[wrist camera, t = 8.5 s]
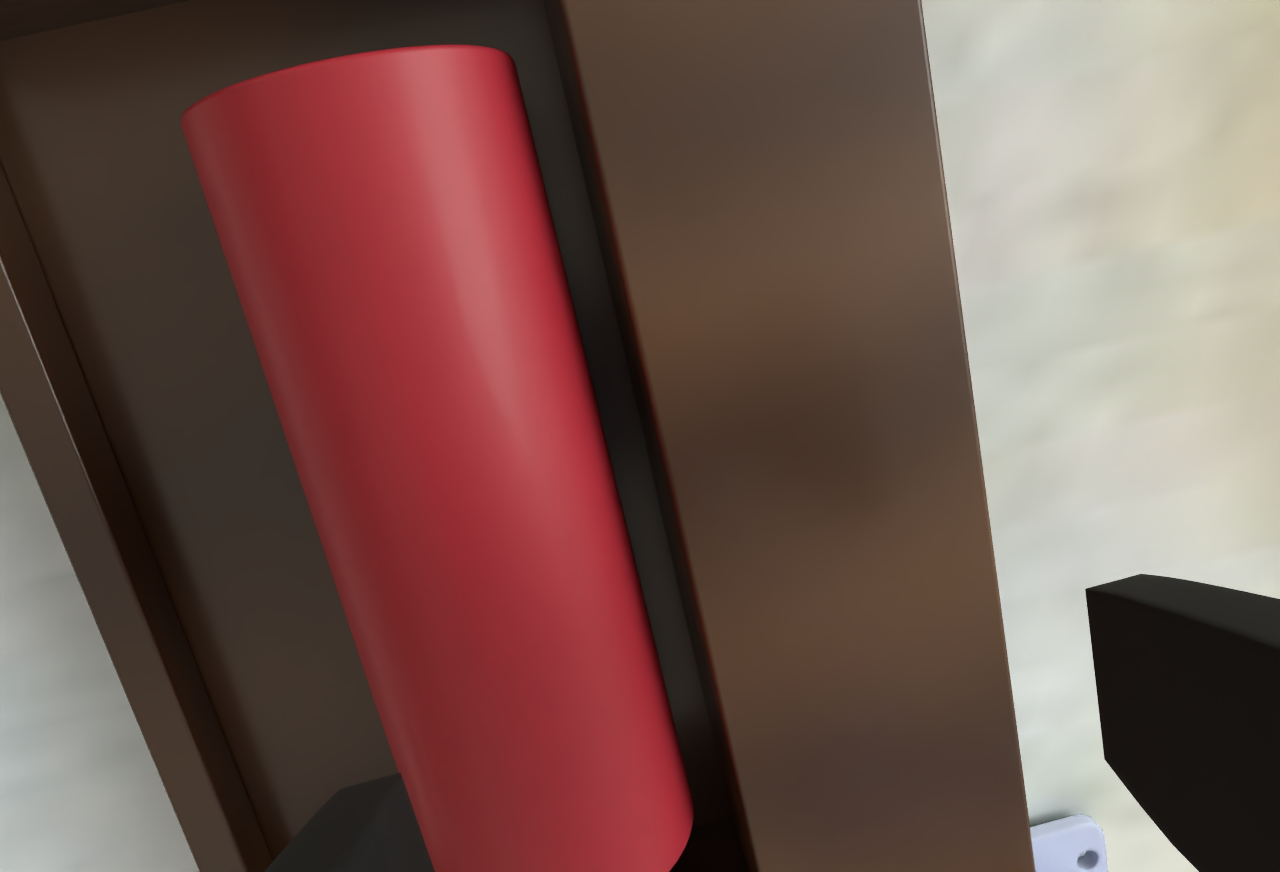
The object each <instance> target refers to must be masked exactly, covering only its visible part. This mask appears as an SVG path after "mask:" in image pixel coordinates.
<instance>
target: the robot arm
mask: <svg viewBox="0 0 1280 872" xmlns="http://www.w3.org/2000/svg"><path fill="white" fill-rule="evenodd" d="M1085 590H1086V599H1087V607H1088V616H1089V625H1090V634H1091V643H1092V652H1093V660H1094V669H1095V678H1096V687H1097V696H1098V704H1099V713H1100V722H1101V731H1102V740H1103V749H1104V757H1105V760H1106V761H1107V763H1108V764H1109V765H1110V767H1111V768H1112V769H1113V771H1114V772H1115V773H1116V774H1117V776H1118V777H1119V778H1120V780H1121V781H1122V782H1123V784H1124V785H1125V786H1126V787H1127V789H1128V790H1129V791H1130V793H1131V794H1132V795H1133V797H1134V798H1135V799H1136V800H1137V802H1138V803H1139V804H1140V806H1141V807H1142V808H1143V809H1144V810H1145V812H1146V813H1147V814H1148V815H1149V816H1150V818H1151V819H1152V820H1153V821H1154V823H1155V824H1156V825H1157V826H1158V827H1159V829H1160V830H1161V831H1162V832H1163V833H1164V835H1165V836H1166V837H1167V838H1168V840H1169V841H1170V842H1171V843H1172V844H1173V845H1174V846H1175V847H1176V848H1177V850H1178V851H1179V852H1180V853H1181V854H1182V855H1183V856H1184V857H1185V858H1186V859H1187V860H1188V861H1189V862H1190V863H1191V864H1192V865H1193V866H1194V867H1195V868H1196V869H1197V870H1198V871H1199V872H1280V599H1276V598H1271V597H1267V596H1262V595H1257V594H1253V593H1248V592H1244V591H1239V590H1234V589H1229V588H1224V587H1219V586H1214V585H1209V584H1204V583H1199V582H1194V581H1188V580H1182V579H1176V578H1170V577H1163V576H1155V575H1146V574H1140V575H1136V576H1132V577H1128V578H1125V579H1121V580H1117V581H1113V582H1110V583H1106V584H1102V585H1098V586H1095V587H1091V588H1087V589H1085ZM1030 832H1031V840H1032V848H1033V855H1034V863H1035V870H1036V872H1108V863H1107V854H1106V844H1105V835H1104V833H1103V830H1102V828H1101V827H1100V826H1099V825H1098V824H1097V823H1096V822H1095V821H1094V820H1093V819H1092V818H1091V817H1090V816H1087V815H1083V814H1080V815H1073V816H1069V817H1066V818H1062V819H1058V820H1055V821H1051V822H1048V823H1044V824H1040V825H1037V826H1033V827H1030ZM1085 851H1087V852H1086V853H1085V855H1084V856H1082V857H1080V858H1078V857H1079V856H1080V855H1081V854H1082V853H1084V852H1085ZM264 872H435V871H434V868H433V865H432V862H431V859H430V856H429V853H428V851H427V848H426V845H425V842H424V839H423V836H422V833H421V830H420V827H419V824H418V821H417V819H416V816H415V813H414V810H413V807H412V804H411V801H410V798H409V795H408V792H407V789H406V787H405V784H404V781H403V778H402V775H401V773H397V774H393V775H389V776H386V777H382V778H378V779H374V780H371V781H367V782H363V783H359V784H356V785H352V786H348V787H345V788H341V789H340V790H339V791H338V792H336V793H335V794H334V795H333V796H332V797H331V798H330V799H329V800H328V801H327V802H326V803H325V804H324V805H323V806H322V807H321V808H320V810H319V811H318V812H317V813H316V814H315V815H314V816H313V817H312V818H311V819H310V820H309V821H308V823H307V824H306V825H305V826H304V827H303V828H302V829H301V830H300V832H299V833H298V834H297V835H296V836H295V837H294V838H293V839H292V841H291V842H290V843H289V844H288V845H287V846H286V847H285V848H284V850H283V851H282V852H281V853H280V854H279V855H278V856H277V858H276V859H275V860H274V861H273V862H272V863H271V864H270V866H269V867H268V868H267V869H266V870H265V871H264Z"/></svg>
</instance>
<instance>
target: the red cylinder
mask: <svg viewBox="0 0 1280 872" xmlns="http://www.w3.org/2000/svg"><path fill="white" fill-rule="evenodd" d="M181 127H182V130H183V133H184V136H185V139H186V142H187V145H188V148H189V151H190V154H191V157H192V160H193V163H194V165H195V168H196V171H197V174H198V177H199V180H200V183H201V186H202V189H203V192H204V195H205V198H206V201H207V204H208V207H209V210H210V213H211V216H212V219H213V222H214V225H215V228H216V231H217V234H218V237H219V240H220V243H221V246H222V249H223V252H224V255H225V258H226V261H227V264H228V267H229V270H230V273H231V276H232V279H233V282H234V285H235V288H236V291H237V294H238V297H239V300H240V302H241V305H242V308H243V311H244V314H245V317H246V320H247V323H248V326H249V329H250V332H251V335H252V338H253V341H254V344H255V347H256V350H257V353H258V356H259V359H260V362H261V365H262V368H263V371H264V374H265V377H266V380H267V383H268V386H269V389H270V392H271V395H272V398H273V401H274V404H275V407H276V410H277V413H278V416H279V419H280V422H281V425H282V428H283V431H284V434H285V437H286V439H287V442H288V445H289V448H290V451H291V454H292V457H293V460H294V463H295V466H296V469H297V472H298V475H299V478H300V481H301V484H302V487H303V490H304V493H305V496H306V499H307V502H308V505H309V508H310V511H311V514H312V517H313V520H314V523H315V526H316V529H317V532H318V535H319V538H320V541H321V544H322V547H323V550H324V553H325V556H326V559H327V562H328V565H329V568H330V571H331V574H332V576H333V579H334V582H335V585H336V588H337V591H338V594H339V597H340V600H341V603H342V606H343V609H344V612H345V615H346V618H347V621H348V624H349V627H350V630H351V633H352V636H353V639H354V642H355V645H356V648H357V651H358V654H359V657H360V660H361V663H362V666H363V669H364V672H365V675H366V678H367V681H368V684H369V687H370V690H371V693H372V696H373V699H374V702H375V705H376V708H377V710H378V713H379V716H380V719H381V722H382V725H383V728H384V731H385V734H386V737H387V740H388V743H389V746H390V749H391V752H392V755H393V758H394V761H395V764H396V767H397V770H398V773H401V775H402V778H403V781H404V784H405V787H406V789H407V792H408V795H409V798H410V801H411V804H412V807H413V810H414V813H415V816H416V819H417V821H418V824H419V827H420V830H421V833H422V836H423V839H424V842H425V845H426V848H427V851H428V853H429V856H430V859H431V862H432V865H433V868H434V871H435V872H670V870H671V869H672V868H673V866H674V865H675V864H676V862H677V861H678V859H679V857H680V856H681V854H682V852H683V850H684V849H685V846H686V844H687V841H688V839H689V836H690V833H691V828H692V824H693V819H694V804H693V798H692V793H691V789H690V785H689V781H688V777H687V773H686V768H685V764H684V760H683V756H682V752H681V748H680V744H679V739H678V735H677V731H676V727H675V723H674V719H673V714H672V710H671V706H670V702H669V698H668V694H667V690H666V685H665V681H664V677H663V673H662V669H661V665H660V661H659V656H658V652H657V648H656V644H655V640H654V636H653V632H652V627H651V623H650V619H649V615H648V611H647V607H646V603H645V598H644V594H643V590H642V586H641V582H640V578H639V574H638V569H637V565H636V561H635V557H634V553H633V549H632V545H631V540H630V536H629V532H628V528H627V524H626V520H625V516H624V511H623V507H622V503H621V499H620V495H619V491H618V487H617V482H616V478H615V474H614V470H613V466H612V462H611V458H610V453H609V449H608V445H607V441H606V437H605V433H604V429H603V424H602V420H601V416H600V412H599V408H598V404H597V400H596V395H595V391H594V387H593V383H592V379H591V375H590V371H589V366H588V362H587V358H586V354H585V350H584V346H583V342H582V337H581V333H580V329H579V325H578V321H577V317H576V313H575V308H574V304H573V300H572V296H571V292H570V288H569V284H568V279H567V275H566V271H565V267H564V263H563V259H562V255H561V250H560V246H559V242H558V238H557V234H556V230H555V225H554V221H553V217H552V213H551V209H550V205H549V201H548V196H547V192H546V188H545V184H544V180H543V176H542V172H541V167H540V163H539V159H538V155H537V151H536V147H535V143H534V138H533V134H532V130H531V126H530V122H529V118H528V114H527V109H526V105H525V101H524V97H523V93H522V89H521V85H520V80H519V76H518V72H517V68H516V64H515V62H514V60H513V58H512V57H511V55H510V54H508V53H507V52H505V51H502V50H499V49H495V48H490V47H484V46H475V45H453V44H449V45H425V46H411V47H401V48H392V49H384V50H377V51H369V52H362V53H357V54H351V55H345V56H339V57H334V58H329V59H324V60H319V61H314V62H310V63H306V64H301V65H297V66H293V67H289V68H285V69H281V70H278V71H274V72H270V73H266V74H263V75H260V76H257V77H254V78H250V79H247V80H244V81H242V82H239V83H236V84H233V85H231V86H228V87H226V88H223V89H221V90H219V91H216V92H214V93H212V94H210V95H208V96H206V97H204V98H202V99H201V100H199V101H197V102H196V103H194V104H193V105H191V106H190V107H188V108H187V109H186V110H185V112H184V113H183V114H182V117H181Z"/></svg>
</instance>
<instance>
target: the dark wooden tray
mask: <svg viewBox="0 0 1280 872" xmlns="http://www.w3.org/2000/svg"><path fill="white" fill-rule="evenodd" d="M449 44H453V45H475V46H484V47H490V48H495V49H499V50H502V51H505V52H507V53H508V54H510V55H511V57H512V58H513V60H514V62H515V64H516V68H517V72H518V76H519V80H520V85H521V89H522V93H523V97H524V101H525V105H526V109H527V114H528V118H529V122H530V126H531V130H532V134H533V138H534V143H535V147H536V151H537V155H538V159H539V163H540V167H541V172H542V176H543V180H544V184H545V188H546V192H547V196H548V201H549V205H550V209H551V213H552V217H553V221H554V225H555V230H556V234H557V238H558V242H559V246H560V250H561V255H562V259H563V263H564V267H565V271H566V275H567V279H568V284H569V288H570V292H571V296H572V300H573V304H574V308H575V313H576V317H577V321H578V325H579V329H580V333H581V337H582V342H583V346H584V350H585V354H586V358H587V362H588V366H589V371H590V375H591V379H592V383H593V387H594V391H595V395H596V400H597V404H598V408H599V412H600V416H601V420H602V424H603V429H604V433H605V437H606V441H607V445H608V449H609V453H610V458H611V462H612V466H613V470H614V474H615V478H616V482H617V487H618V491H619V495H620V499H621V503H622V507H623V511H624V516H625V520H626V524H627V528H628V532H629V536H630V540H631V545H632V549H633V553H634V557H635V561H636V565H637V569H638V574H639V578H640V582H641V586H642V590H643V594H644V598H645V603H646V607H647V611H648V615H649V619H650V623H651V627H652V632H653V636H654V640H655V644H656V648H657V652H658V656H659V661H660V665H661V669H662V673H663V677H664V681H665V685H666V690H667V694H668V698H669V702H670V706H671V710H672V714H673V719H674V723H675V727H676V731H677V735H678V739H679V744H680V748H681V752H682V756H683V760H684V764H685V768H686V773H687V777H688V781H689V785H690V789H691V793H692V798H693V804H694V819H693V824H692V828H691V833H690V836H689V839H688V841H687V844H686V846H685V849H684V850H683V852H682V854H681V856H680V857H679V859H678V861H677V862H676V864H675V865H674V866H673V868H672V869H671V870H670V872H1036V870H1035V863H1034V855H1033V848H1032V840H1031V832H1030V825H1029V817H1028V809H1027V802H1026V794H1025V787H1024V779H1023V771H1022V764H1021V756H1020V749H1019V741H1018V733H1017V726H1016V718H1015V711H1014V703H1013V695H1012V688H1011V680H1010V673H1009V665H1008V657H1007V650H1006V642H1005V635H1004V627H1003V619H1002V612H1001V604H1000V596H999V589H998V581H997V574H996V566H995V558H994V551H993V543H992V536H991V528H990V520H989V513H988V505H987V498H986V490H985V482H984V475H983V467H982V460H981V452H980V444H979V437H978V429H977V422H976V414H975V406H974V399H973V391H972V383H971V376H970V368H969V361H968V353H967V345H966V338H965V330H964V323H963V315H962V307H961V300H960V292H959V285H958V277H957V269H956V262H955V254H954V247H953V239H952V231H951V224H950V216H949V209H948V201H947V193H946V186H945V178H944V171H943V163H942V155H941V148H940V140H939V132H938V125H937V117H936V110H935V102H934V94H933V87H932V79H931V72H930V64H929V56H928V49H927V41H926V34H925V26H924V18H923V11H922V3H921V0H0V394H1V396H2V398H3V401H4V403H5V406H6V408H7V410H8V413H9V415H10V418H11V420H12V422H13V425H14V427H15V430H16V432H17V434H18V437H19V439H20V442H21V444H22V446H23V449H24V451H25V454H26V456H27V458H28V461H29V463H30V466H31V468H32V470H33V473H34V475H35V478H36V480H37V482H38V485H39V487H40V490H41V492H42V494H43V497H44V499H45V502H46V504H47V506H48V509H49V511H50V514H51V516H52V518H53V521H54V523H55V526H56V528H57V530H58V533H59V535H60V538H61V540H62V542H63V545H64V547H65V550H66V552H67V554H68V557H69V559H70V562H71V564H72V566H73V569H74V571H75V574H76V576H77V578H78V581H79V583H80V586H81V588H82V590H83V593H84V595H85V598H86V600H87V602H88V605H89V607H90V610H91V612H92V614H93V617H94V619H95V622H96V624H97V626H98V629H99V631H100V634H101V636H102V638H103V641H104V643H105V646H106V648H107V650H108V653H109V655H110V658H111V660H112V662H113V665H114V667H115V670H116V672H117V674H118V677H119V679H120V681H121V684H122V686H123V689H124V691H125V693H126V696H127V698H128V701H129V703H130V705H131V708H132V710H133V713H134V715H135V717H136V720H137V722H138V725H139V727H140V729H141V732H142V734H143V737H144V739H145V741H146V744H147V746H148V749H149V751H150V753H151V756H152V758H153V761H154V763H155V765H156V768H157V770H158V773H159V775H160V777H161V780H162V782H163V785H164V787H165V789H166V792H167V794H168V797H169V799H170V801H171V804H172V806H173V809H174V811H175V813H176V816H177V818H178V821H179V823H180V825H181V828H182V830H183V833H184V835H185V837H186V840H187V842H188V845H189V847H190V849H191V852H192V854H193V857H194V859H195V861H196V864H197V866H198V869H199V871H200V872H264V871H265V870H266V869H267V868H268V867H269V866H270V864H271V863H272V862H273V861H274V860H275V859H276V858H277V856H278V855H279V854H280V853H281V852H282V851H283V850H284V848H285V847H286V846H287V845H288V844H289V843H290V842H291V841H292V839H293V838H294V837H295V836H296V835H297V834H298V833H299V832H300V830H301V829H302V828H303V827H304V826H305V825H306V824H307V823H308V821H309V820H310V819H311V818H312V817H313V816H314V815H315V814H316V813H317V812H318V811H319V810H320V808H321V807H322V806H323V805H324V804H325V803H326V802H327V801H328V800H329V799H330V798H331V797H332V796H333V795H334V794H335V793H336V792H338V791H339V790H340V789H341V788H345V787H348V786H352V785H356V784H359V783H363V782H367V781H371V780H374V779H378V778H382V777H386V776H389V775H393V774H397V773H398V770H397V767H396V764H395V761H394V758H393V755H392V752H391V749H390V746H389V743H388V740H387V737H386V734H385V731H384V728H383V725H382V722H381V719H380V716H379V713H378V710H377V708H376V705H375V702H374V699H373V696H372V693H371V690H370V687H369V684H368V681H367V678H366V675H365V672H364V669H363V666H362V663H361V660H360V657H359V654H358V651H357V648H356V645H355V642H354V639H353V636H352V633H351V630H350V627H349V624H348V621H347V618H346V615H345V612H344V609H343V606H342V603H341V600H340V597H339V594H338V591H337V588H336V585H335V582H334V579H333V576H332V574H331V571H330V568H329V565H328V562H327V559H326V556H325V553H324V550H323V547H322V544H321V541H320V538H319V535H318V532H317V529H316V526H315V523H314V520H313V517H312V514H311V511H310V508H309V505H308V502H307V499H306V496H305V493H304V490H303V487H302V484H301V481H300V478H299V475H298V472H297V469H296V466H295V463H294V460H293V457H292V454H291V451H290V448H289V445H288V442H287V439H286V437H285V434H284V431H283V428H282V425H281V422H280V419H279V416H278V413H277V410H276V407H275V404H274V401H273V398H272V395H271V392H270V389H269V386H268V383H267V380H266V377H265V374H264V371H263V368H262V365H261V362H260V359H259V356H258V353H257V350H256V347H255V344H254V341H253V338H252V335H251V332H250V329H249V326H248V323H247V320H246V317H245V314H244V311H243V308H242V305H241V302H240V300H239V297H238V294H237V291H236V288H235V285H234V282H233V279H232V276H231V273H230V270H229V267H228V264H227V261H226V258H225V255H224V252H223V249H222V246H221V243H220V240H219V237H218V234H217V231H216V228H215V225H214V222H213V219H212V216H211V213H210V210H209V207H208V204H207V201H206V198H205V195H204V192H203V189H202V186H201V183H200V180H199V177H198V174H197V171H196V168H195V165H194V163H193V160H192V157H191V154H190V151H189V148H188V145H187V142H186V139H185V136H184V133H183V130H182V127H181V117H182V114H183V113H184V112H185V110H186V109H187V108H188V107H190V106H191V105H193V104H194V103H196V102H197V101H199V100H201V99H202V98H204V97H206V96H208V95H210V94H212V93H214V92H216V91H219V90H221V89H223V88H226V87H228V86H231V85H233V84H236V83H239V82H242V81H244V80H247V79H250V78H254V77H257V76H260V75H263V74H266V73H270V72H274V71H278V70H281V69H285V68H289V67H293V66H297V65H301V64H306V63H310V62H314V61H319V60H324V59H329V58H334V57H339V56H345V55H351V54H357V53H362V52H369V51H377V50H384V49H392V48H401V47H411V46H425V45H449Z"/></svg>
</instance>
